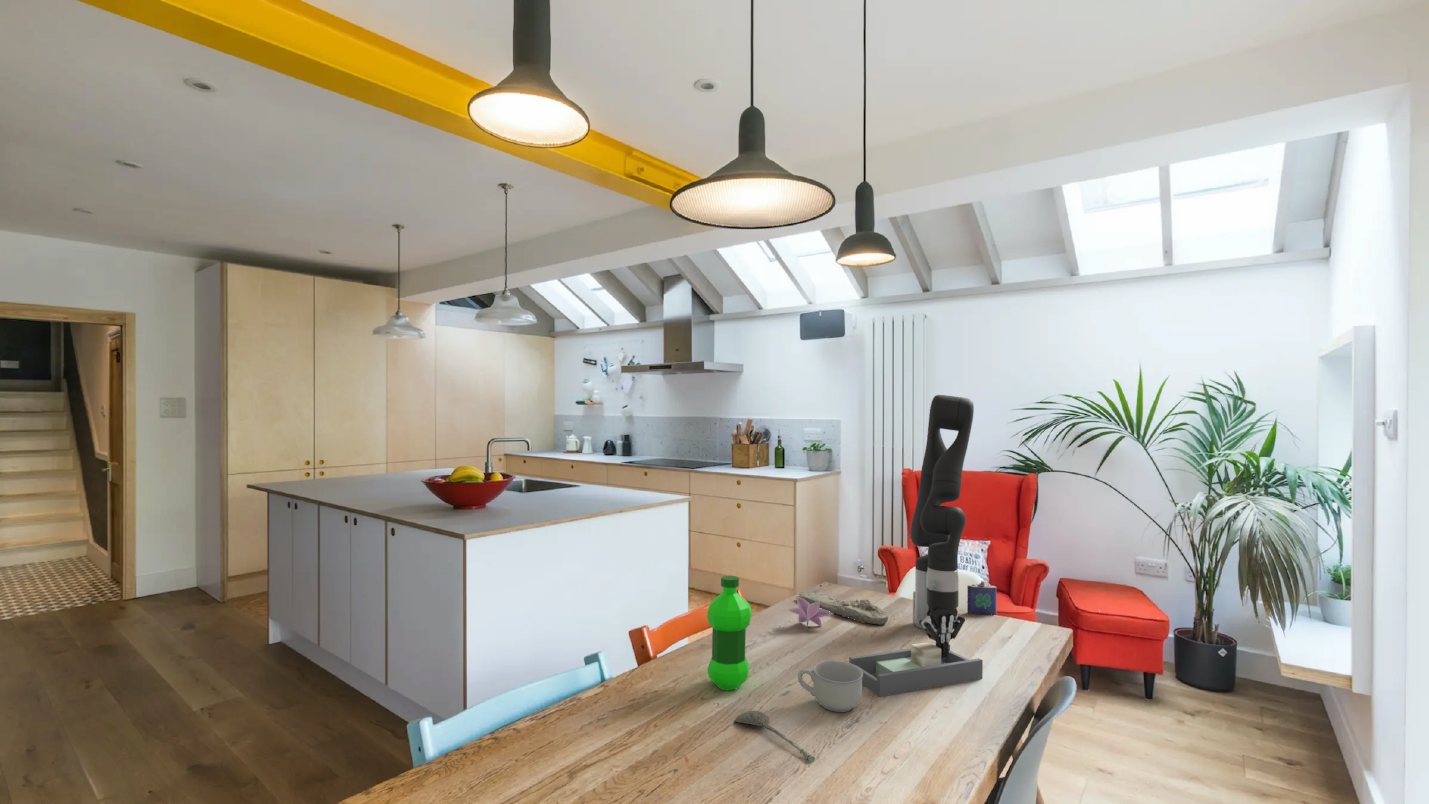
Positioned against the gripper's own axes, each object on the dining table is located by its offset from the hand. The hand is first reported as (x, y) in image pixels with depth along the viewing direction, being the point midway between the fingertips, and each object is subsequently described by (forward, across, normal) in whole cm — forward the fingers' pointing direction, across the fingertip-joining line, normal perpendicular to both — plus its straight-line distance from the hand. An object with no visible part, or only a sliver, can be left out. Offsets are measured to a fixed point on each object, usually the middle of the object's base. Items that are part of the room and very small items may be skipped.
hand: (942, 656), depth 163 cm
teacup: (+4, +36, +6) cm, 37 cm away
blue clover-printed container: (+5, -47, -35) cm, 59 cm away
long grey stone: (+5, -5, -52) cm, 53 cm away
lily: (+4, +14, -41) cm, 43 cm away
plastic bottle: (+4, +53, -12) cm, 54 cm away
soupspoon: (+4, +54, +14) cm, 56 cm away
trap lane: (+4, +8, 0) cm, 9 cm away
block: (+1, +5, 0) cm, 5 cm away
